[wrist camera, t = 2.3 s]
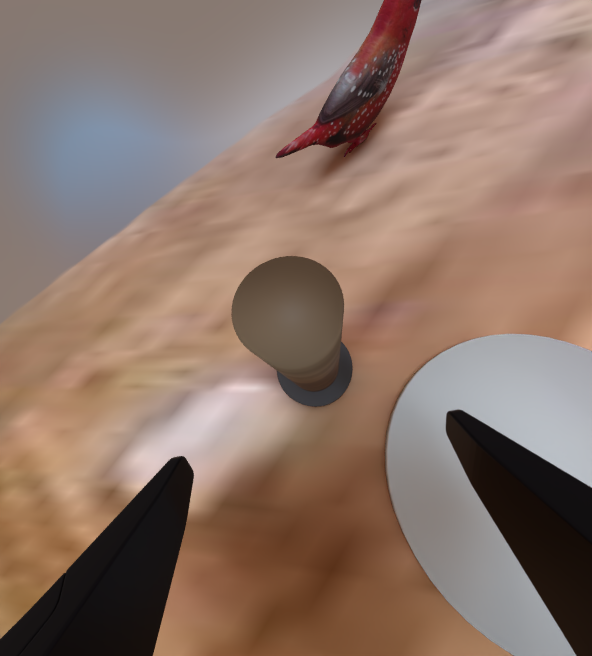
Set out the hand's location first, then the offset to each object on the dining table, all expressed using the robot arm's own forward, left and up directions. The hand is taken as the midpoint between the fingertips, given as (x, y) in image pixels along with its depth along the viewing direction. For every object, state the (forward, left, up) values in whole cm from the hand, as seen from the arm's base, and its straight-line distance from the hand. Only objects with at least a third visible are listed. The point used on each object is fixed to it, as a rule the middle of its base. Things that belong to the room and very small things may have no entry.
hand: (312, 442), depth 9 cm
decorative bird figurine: (+26, +4, -11) cm, 28 cm away
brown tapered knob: (+4, +2, -11) cm, 12 cm away
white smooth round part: (+1, -13, -11) cm, 17 cm away
